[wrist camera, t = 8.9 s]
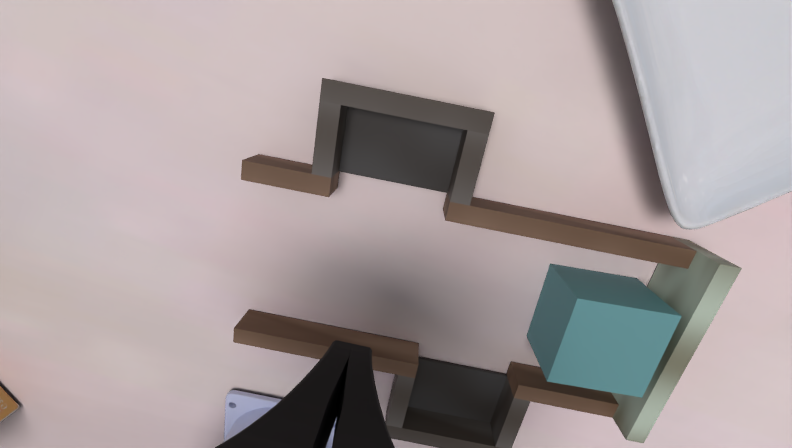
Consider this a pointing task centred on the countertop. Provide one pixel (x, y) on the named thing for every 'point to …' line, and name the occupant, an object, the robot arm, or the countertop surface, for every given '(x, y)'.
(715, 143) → the salad plate
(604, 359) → the teal block
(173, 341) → the countertop surface
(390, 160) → the trap channel
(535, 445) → the countertop surface
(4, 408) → the small box
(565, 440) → the countertop surface
